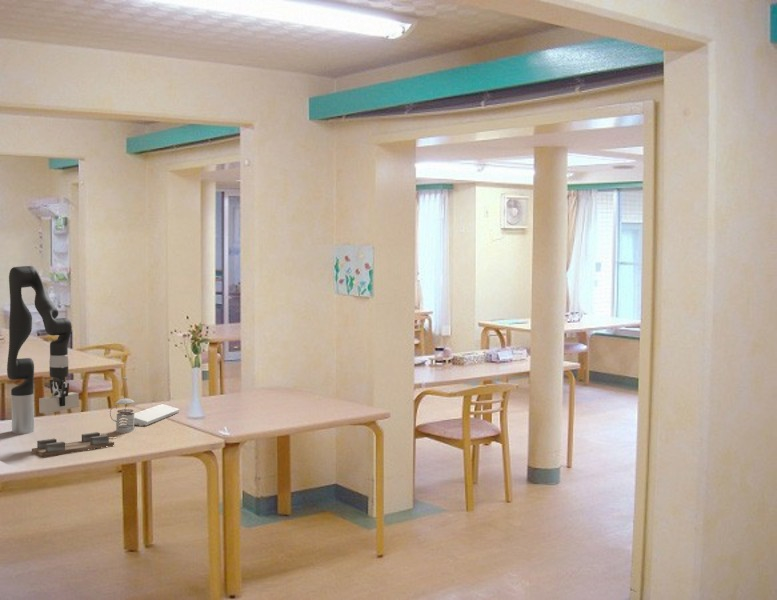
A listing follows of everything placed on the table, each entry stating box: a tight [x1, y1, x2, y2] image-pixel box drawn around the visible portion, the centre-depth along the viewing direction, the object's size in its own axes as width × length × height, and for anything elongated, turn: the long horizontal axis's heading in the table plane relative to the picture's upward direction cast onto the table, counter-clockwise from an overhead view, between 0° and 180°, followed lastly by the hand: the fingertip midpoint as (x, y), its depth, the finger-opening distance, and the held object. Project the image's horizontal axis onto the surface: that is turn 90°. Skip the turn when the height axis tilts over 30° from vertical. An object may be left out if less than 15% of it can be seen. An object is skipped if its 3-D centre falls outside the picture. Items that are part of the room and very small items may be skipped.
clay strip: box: [38, 391, 80, 415], centre depth 378 cm, size 4×18×6 cm, turn 154°
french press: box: [109, 376, 136, 434], centre depth 404 cm, size 10×12×25 cm
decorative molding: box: [127, 403, 180, 427], centre depth 432 cm, size 34×5×10 cm
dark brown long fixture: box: [31, 431, 115, 458], centre depth 369 cm, size 12×30×4 cm, turn 135°
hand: (59, 404), depth 378 cm, fingers closed on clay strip, 5 cm apart
